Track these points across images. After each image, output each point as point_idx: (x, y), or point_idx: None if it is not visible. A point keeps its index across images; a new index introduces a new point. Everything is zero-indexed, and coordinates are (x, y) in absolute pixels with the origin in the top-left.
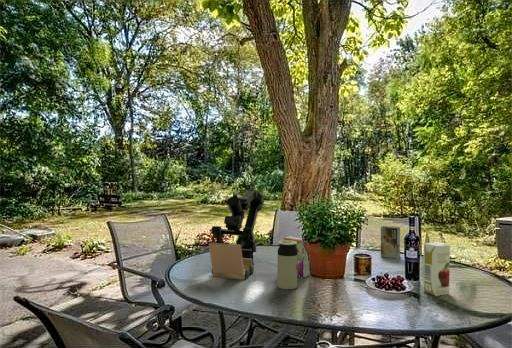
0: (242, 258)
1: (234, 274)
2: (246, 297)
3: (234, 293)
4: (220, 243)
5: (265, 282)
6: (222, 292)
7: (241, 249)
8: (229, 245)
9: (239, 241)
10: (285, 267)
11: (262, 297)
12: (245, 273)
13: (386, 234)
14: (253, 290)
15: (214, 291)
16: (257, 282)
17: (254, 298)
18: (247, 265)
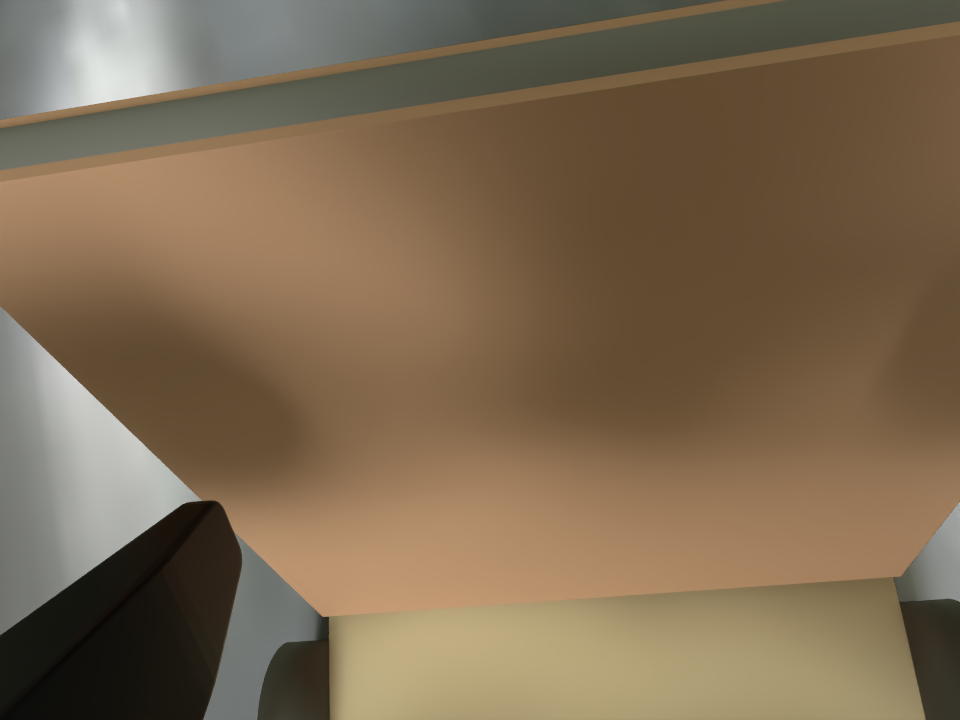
0: (185, 483)
1: None
2: (148, 31)
3: (286, 72)
4: (762, 64)
5: (45, 569)
6: (412, 46)
7: (26, 328)
8: (319, 70)
9: (10, 713)
10: None
11: (11, 91)
12: (311, 642)
13: None
14: None
15: (504, 35)
16: (142, 529)
17: (75, 40)
18: None
